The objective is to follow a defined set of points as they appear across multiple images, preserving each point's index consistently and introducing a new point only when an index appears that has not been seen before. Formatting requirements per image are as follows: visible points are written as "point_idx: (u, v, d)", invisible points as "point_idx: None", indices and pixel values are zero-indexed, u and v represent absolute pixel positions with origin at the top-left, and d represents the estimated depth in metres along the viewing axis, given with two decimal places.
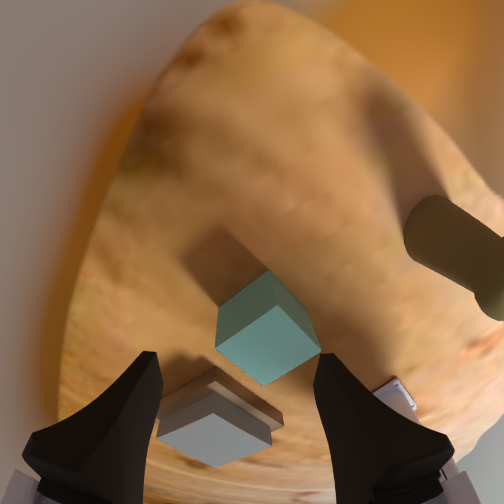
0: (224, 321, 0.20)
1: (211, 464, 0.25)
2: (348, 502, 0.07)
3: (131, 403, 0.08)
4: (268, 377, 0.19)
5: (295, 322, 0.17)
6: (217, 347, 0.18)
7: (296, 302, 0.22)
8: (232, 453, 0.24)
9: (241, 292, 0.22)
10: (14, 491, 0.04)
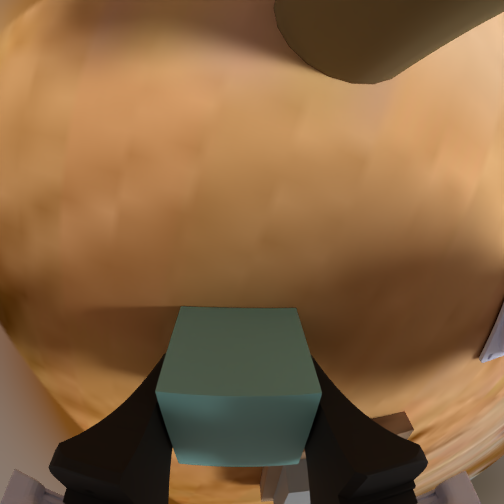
0: None
1: None
2: None
3: (159, 407, 0.08)
4: (288, 456, 0.09)
5: (217, 392, 0.08)
6: (180, 461, 0.09)
7: (255, 318, 0.12)
8: None
9: None
10: (14, 491, 0.04)
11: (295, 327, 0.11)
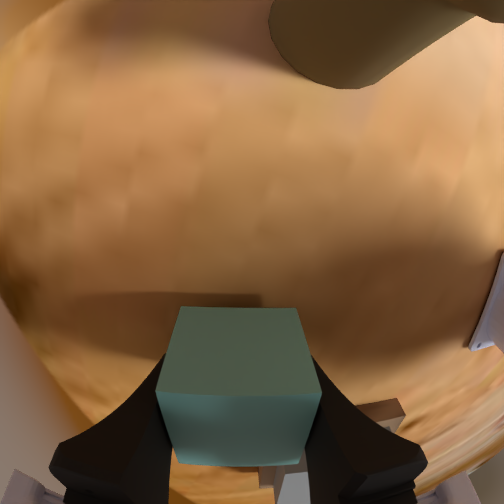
0: None
1: None
2: None
3: (159, 407, 0.08)
4: (288, 456, 0.09)
5: (217, 391, 0.08)
6: (180, 461, 0.09)
7: (255, 318, 0.12)
8: None
9: None
10: (14, 491, 0.04)
11: (295, 327, 0.11)
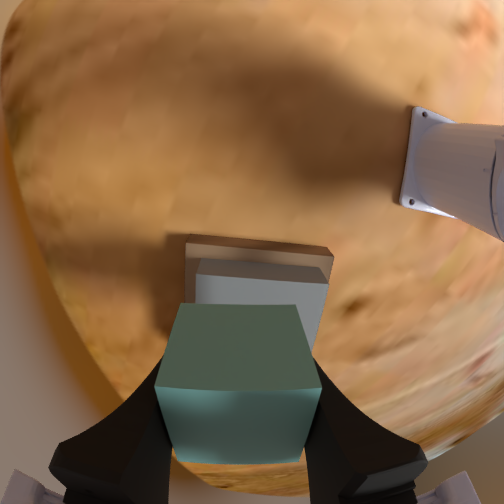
0: None
1: None
2: None
3: (159, 407, 0.08)
4: (288, 454, 0.09)
5: (217, 386, 0.08)
6: (179, 459, 0.09)
7: (255, 315, 0.12)
8: None
9: None
10: (14, 491, 0.04)
11: (295, 323, 0.11)
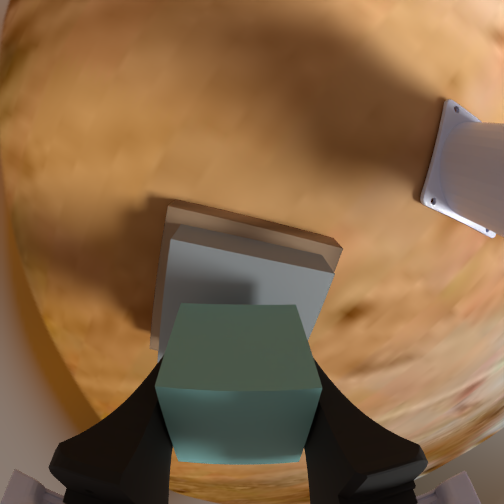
0: None
1: None
2: None
3: (159, 407, 0.08)
4: (288, 454, 0.09)
5: (217, 386, 0.08)
6: (179, 459, 0.09)
7: (255, 315, 0.12)
8: None
9: None
10: (14, 491, 0.04)
11: (295, 323, 0.11)
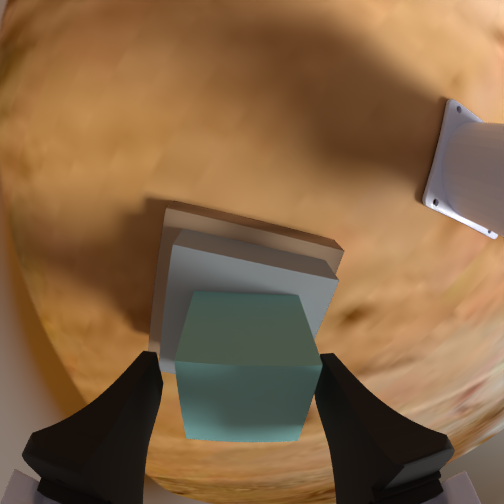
0: None
1: None
2: (348, 502, 0.07)
3: (131, 403, 0.08)
4: (289, 432, 0.11)
5: (230, 361, 0.09)
6: (187, 436, 0.11)
7: (262, 302, 0.13)
8: None
9: None
10: (15, 491, 0.04)
11: (298, 311, 0.12)
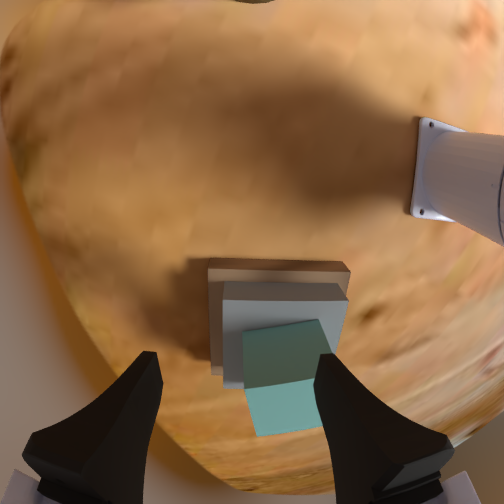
0: None
1: None
2: (348, 502, 0.07)
3: (131, 403, 0.08)
4: None
5: (280, 382, 0.14)
6: (258, 434, 0.15)
7: (293, 332, 0.17)
8: None
9: None
10: (14, 491, 0.04)
11: (320, 333, 0.17)
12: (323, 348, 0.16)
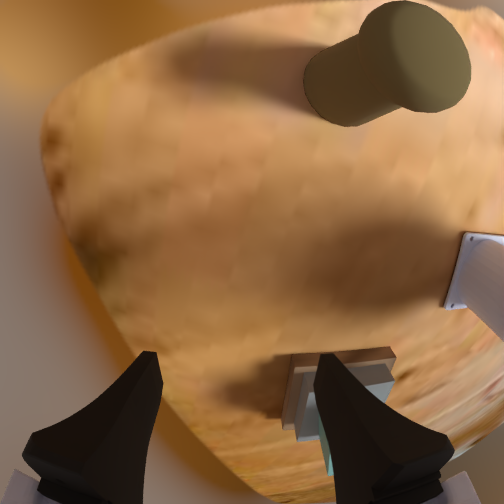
0: (323, 453, 0.21)
1: None
2: (348, 502, 0.07)
3: (131, 403, 0.08)
4: None
5: None
6: (328, 475, 0.19)
7: None
8: None
9: (319, 426, 0.23)
10: (14, 491, 0.04)
11: None
12: None
